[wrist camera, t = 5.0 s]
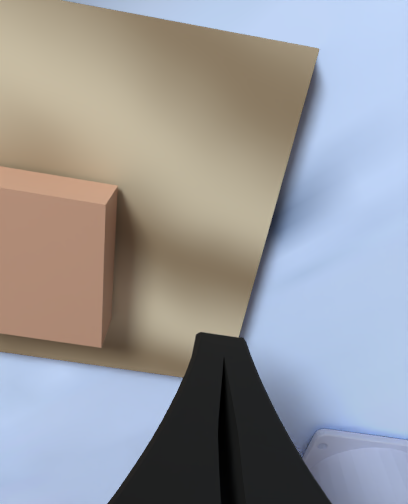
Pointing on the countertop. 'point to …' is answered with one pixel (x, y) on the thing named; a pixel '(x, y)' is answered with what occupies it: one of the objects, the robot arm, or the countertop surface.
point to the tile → (56, 257)
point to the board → (155, 160)
